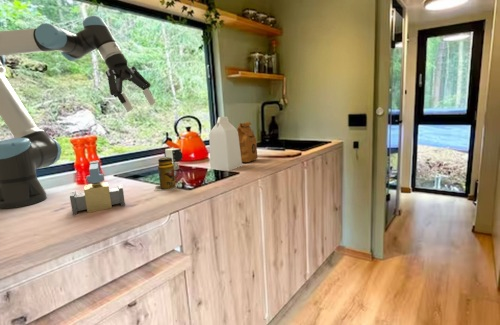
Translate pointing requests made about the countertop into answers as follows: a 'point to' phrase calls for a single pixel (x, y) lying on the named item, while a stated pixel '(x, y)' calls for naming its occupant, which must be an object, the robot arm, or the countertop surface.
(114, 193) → the ball valve
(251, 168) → the countertop surface
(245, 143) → the coffee package
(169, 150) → the pneumatic valve
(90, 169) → the lever
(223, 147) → the milk
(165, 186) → the condiment
